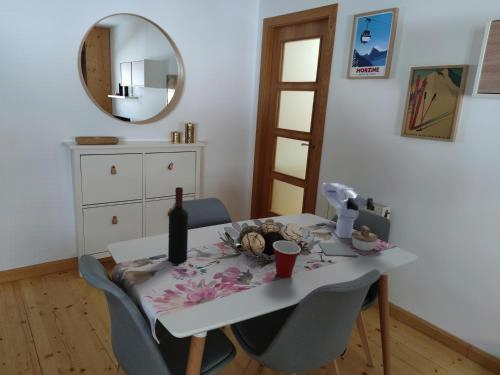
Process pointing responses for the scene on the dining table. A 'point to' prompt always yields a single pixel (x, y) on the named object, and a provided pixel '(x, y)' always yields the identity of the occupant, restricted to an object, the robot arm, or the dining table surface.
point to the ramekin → (363, 245)
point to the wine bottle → (178, 230)
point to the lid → (364, 235)
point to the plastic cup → (285, 257)
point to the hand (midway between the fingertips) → (365, 208)
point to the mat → (336, 249)
